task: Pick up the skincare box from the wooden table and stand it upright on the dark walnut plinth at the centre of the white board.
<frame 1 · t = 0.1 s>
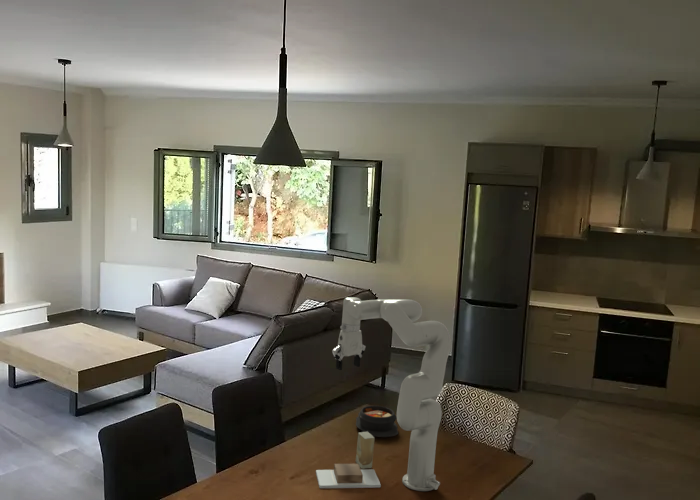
hand: (347, 367, 260), 31 cm above the table, fingers open, 9 cm apart
casserole: (376, 430, 277), on the table
skincare box: (363, 465, 241), on the table
white board: (347, 479, 228), on the table
walnut plinth: (348, 473, 228), on the white board, point 2 cm above the table
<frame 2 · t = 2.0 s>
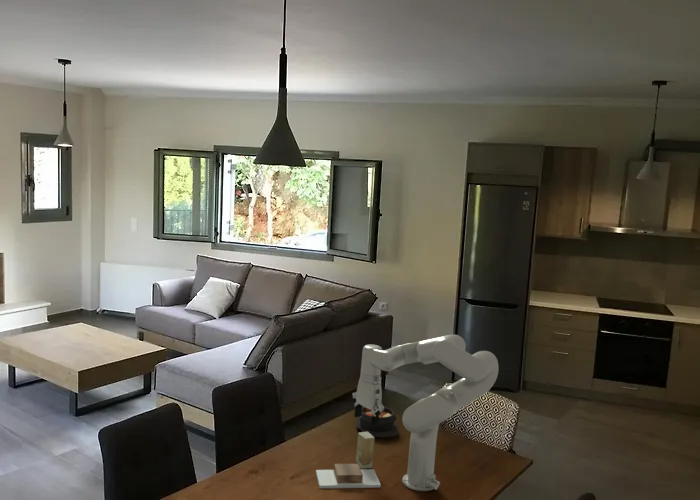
hand: (366, 420, 239), 18 cm above the table, fingers open, 9 cm apart
nothing on the table moved.
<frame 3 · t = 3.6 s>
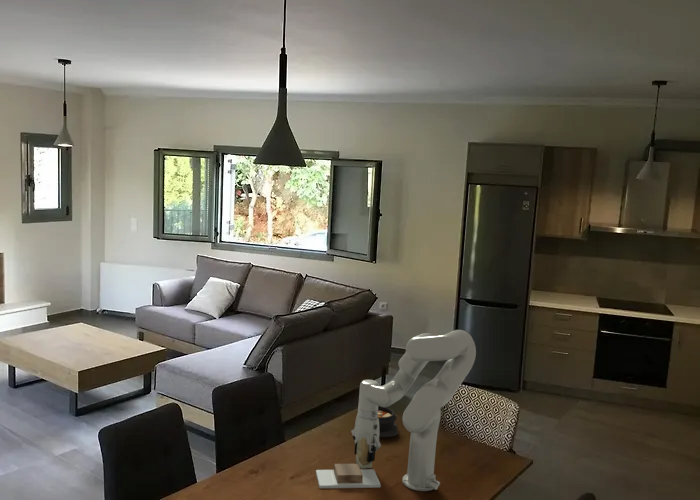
hand: (364, 457, 240), 3 cm above the table, fingers closed on skincare box, 7 cm apart
skincare box: (363, 465, 241), on the table, touching gripper
everything else where it was.
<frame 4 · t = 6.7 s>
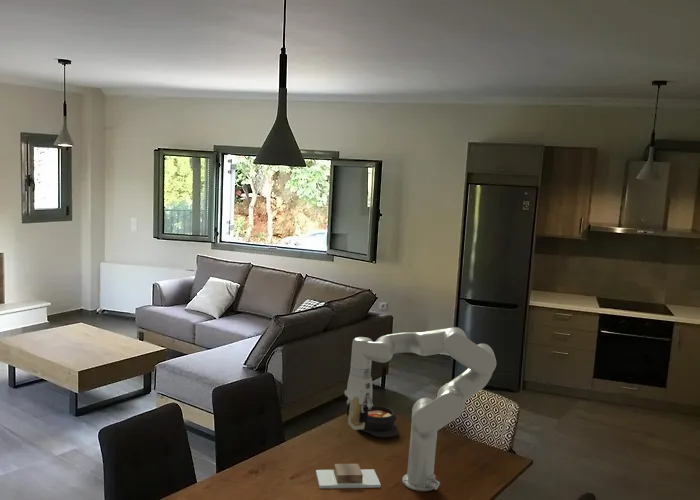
hand: (356, 418, 230), 22 cm above the table, fingers closed on skincare box, 7 cm apart
skincare box: (356, 427, 230), point 18 cm above the table, touching gripper
everything else where it was.
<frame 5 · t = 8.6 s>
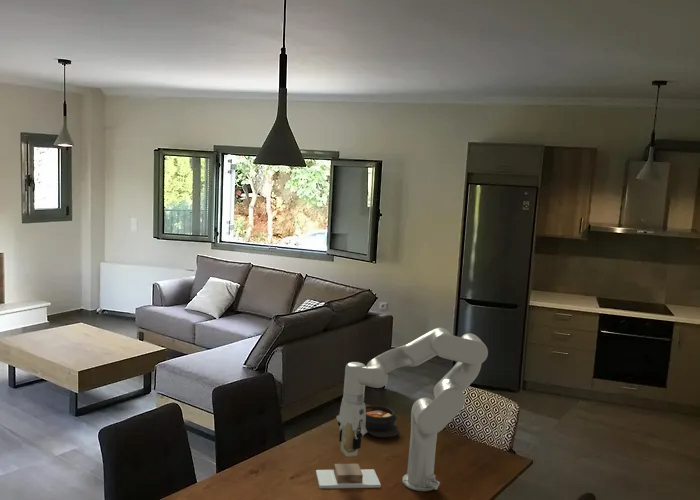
hand: (349, 444, 226), 13 cm above the table, fingers closed on skincare box, 7 cm apart
skincare box: (348, 453, 227), point 10 cm above the table, touching gripper
everything else where it was.
when the fingers open (8 cm above the table, at t = 10.1 s): skincare box drops 1 cm, resting on walnut plinth.
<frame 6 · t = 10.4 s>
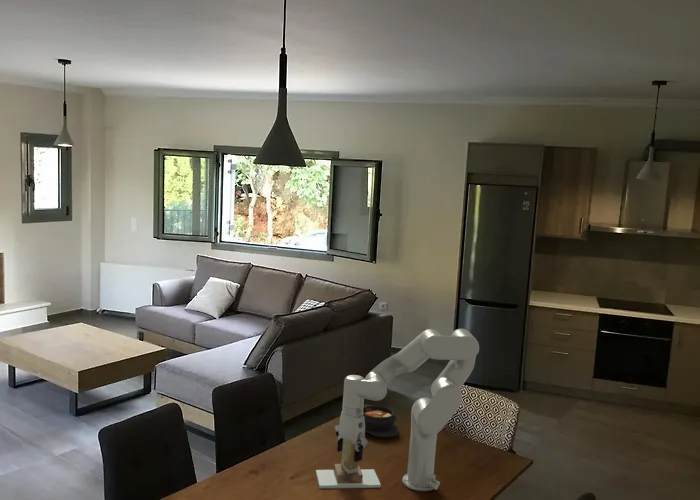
hand: (349, 455, 227), 9 cm above the table, fingers open, 9 cm apart
skincare box: (349, 470, 227), point 4 cm above the table, touching walnut plinth
everything else where it was.
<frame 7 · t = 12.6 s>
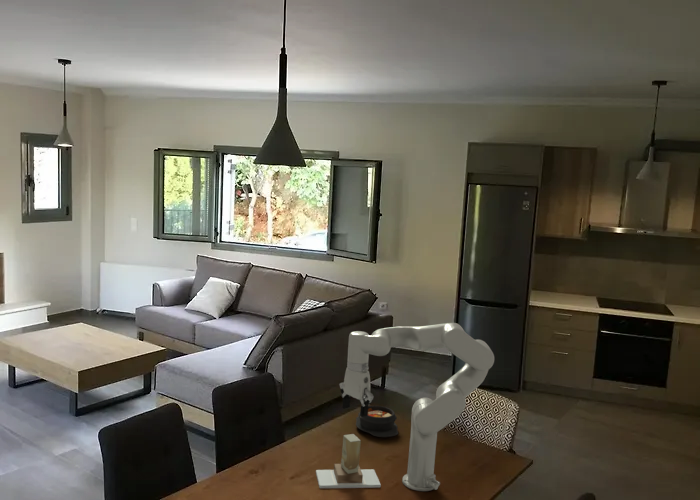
hand: (354, 411, 227), 25 cm above the table, fingers open, 9 cm apart
nothing on the table moved.
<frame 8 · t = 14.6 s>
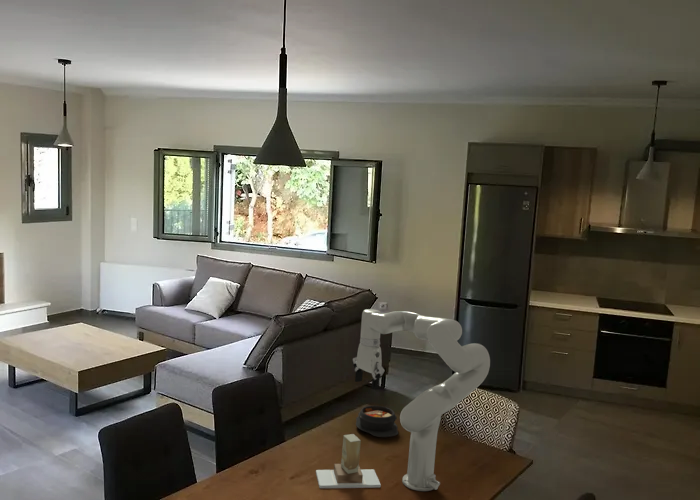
hand: (366, 384, 242), 30 cm above the table, fingers open, 9 cm apart
nothing on the table moved.
at the end: skincare box 0.5 cm off-centre on the white board, point 3.8 cm above the white board's base; skincare box tilted 0°; the gripper is holding nothing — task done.
